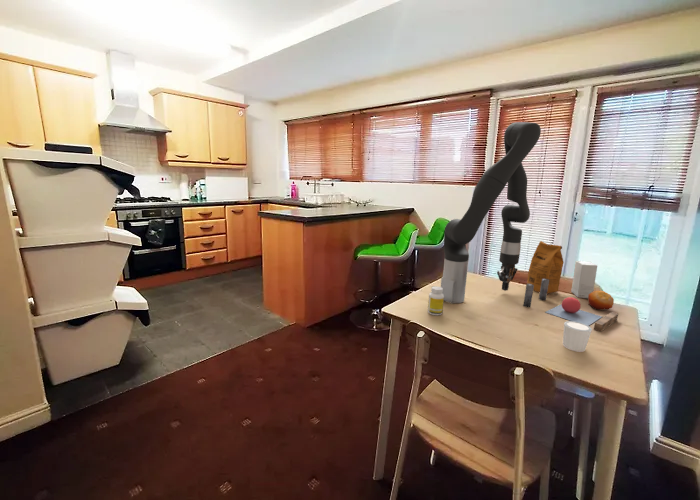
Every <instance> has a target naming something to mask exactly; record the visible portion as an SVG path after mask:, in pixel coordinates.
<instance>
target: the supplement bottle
mask: <svg viewBox="0 0 700 500" xmlns="http://www.w3.org/2000/svg"><path fill="white" fill-rule="evenodd" d="M430 291H431V292H429V293H428V301H427V303H428V304H427V313H428V314H429V313H430V314H429V315H432V316H441V315H442V314H443V311H444V310H443V309H444V302H445V301H444V295H443V294H442V292H443V288H441V286H431V289H430Z"/></svg>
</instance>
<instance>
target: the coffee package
mask: <svg viewBox="0 0 700 500" xmlns="http://www.w3.org/2000/svg"><path fill="white" fill-rule="evenodd" d="M562 250H563V246H561V245H555V244H548V243H546V242H544V241H542V240H540V241H539V243H538V245H537V246H536V249H535V251H534V253H533V255H532V257H531V259H530V265H529V268H528V272H527V282H526V284H533V285H534V289H533V292H536V293H539V294H540V288H541V282H542V278H546V279H549V285H548V291H547V295H549V294H551V293H557V292H559V287H560V281H561V277H562V272H563V267H564V258H563V254H562Z"/></svg>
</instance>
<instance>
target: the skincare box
mask: <svg viewBox="0 0 700 500" xmlns="http://www.w3.org/2000/svg"><path fill="white" fill-rule="evenodd" d="M597 271H598V264H595V263H593V262H591V261H584V260H576V261H575V264H574V271H573V278H572V283H571V284H572V285H571V290H570V291H571V293H572V294H573V295H575V297H577V298H580V299H581V298H583V299H588V296H589V294H590V293H592V292H593V291H595V290H594V289H595V285H596V278H597Z"/></svg>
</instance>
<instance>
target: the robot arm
mask: <svg viewBox="0 0 700 500" xmlns="http://www.w3.org/2000/svg"><path fill="white" fill-rule="evenodd" d="M541 132H542V129H541V126H540V125H539V123H536V122H529V121H526V122H525V121H522V122H521V121H519V122H518V121H516V122H512V123H510V124H509V125H508V126H507V127H506V129H505V131H504V135H503V136H504V137H503V138H504V139H503V141H504V142H503V144H504V151H505V155H504V156H503V157H502V158H500V159H499V160H498V161H497V162H495V163H493V164H492V165H491V166H490V167H488V169H486V170H485V172H483V174H482V175H481V177H480V179H479V181H478V182H477V183H476V185H475V188H474V190H473V193H472V197H471V198H472V199H471V201H470V205H469V207H468V209H467V210H466V212H465V214H464V215H463V216H462V218H454V219H451V220H450V221H449V222H447V224H446V225H445V228H444V234H443V237H444V238H443V251H444V252H443V253H444V262H443V271H442V277H440V278H441V279H440V287H441V288H443V292H442V294H443V295H444V301H443V302H447V303H449V304H460V303H464V301H465V296H466V295H465V294H466V287H467V286H466V285H467V279H468V278H467V275H468V268H469V258H470V254H469V252H468V250H467V245H468V244H469V243H470V242H472V240H473V239H474V237H476V235H477V232H478V231H479V228H480V227H481V225H482V223H483V221H484V219H485V217H486V216H487V214H488V213H489V211H490V210H491V208H492V207H493V205H494V204H495V202H496V200H497V199H498V197H499V196H500V195H501V194H502V192H503V191H504V189H505V187H506V186H507V187H506V188H507V192H506V198H507V200H508V201H509V202H513V203H516V205H515V204H507V205H504V206H503V208H502V209H501V215H500V216H501V221H502V225H503V226H502V227H503V228H502V229H503V234H502V241H501V245H500V253H499V260H498V261H499V262H500V263H501V266H500V270H497V271H496V273H497V277H498V279H499V281H500V282H502V283H501V284H502V285H501V291H504V292H505V291H509V289H510V288H509V287H510V283H511V281H513V279H514V278H515V275H516V274H517V272H518V268H517V267H516V265H518V264H519V261H520V255H521V247H522V246H521V244H522V236H523V230H522V229H521V228H519V227H517V226H516V227H515V226H514V225H512V223H519V224H520V223H521V224H524V223H526V222H528V220H529V219H530V215H531V212H530V207H529V203H528V198H527V193H528V176H527V172H526V170H525V168H524V165H523V163H522V162H523V161H524V160H525V159H526V158H527V156H528V154H529V153H531V151H532V150H533V149H534V147H535V146H536V145H537V143H538V142H539V139H540V137H541Z"/></svg>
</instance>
